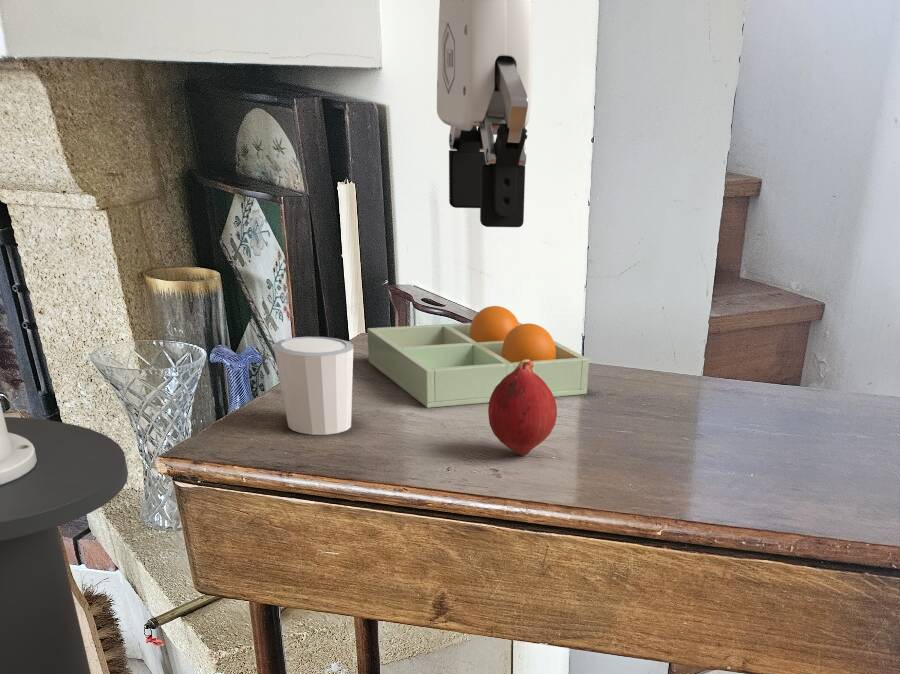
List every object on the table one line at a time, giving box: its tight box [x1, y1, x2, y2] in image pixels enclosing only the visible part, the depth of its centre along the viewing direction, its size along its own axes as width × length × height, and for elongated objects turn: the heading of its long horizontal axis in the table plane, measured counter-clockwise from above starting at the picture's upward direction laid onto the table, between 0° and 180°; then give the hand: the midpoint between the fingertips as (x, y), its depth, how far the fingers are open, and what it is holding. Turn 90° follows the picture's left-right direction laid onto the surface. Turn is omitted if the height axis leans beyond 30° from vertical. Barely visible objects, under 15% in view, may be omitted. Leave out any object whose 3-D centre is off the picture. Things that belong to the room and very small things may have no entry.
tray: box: [366, 322, 590, 409], centre depth 109 cm, size 18×18×4 cm
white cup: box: [273, 336, 354, 436], centre depth 92 cm, size 7×7×7 cm
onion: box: [487, 359, 558, 456], centre depth 88 cm, size 6×6×8 cm
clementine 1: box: [470, 305, 520, 342], centre depth 113 cm, size 6×6×6 cm
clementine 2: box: [502, 322, 556, 363], centre depth 107 cm, size 6×6×6 cm
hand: (484, 216), depth 80 cm, fingers open, 9 cm apart
